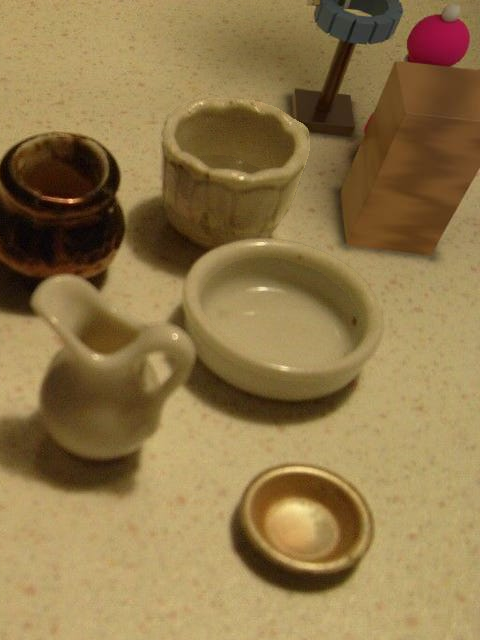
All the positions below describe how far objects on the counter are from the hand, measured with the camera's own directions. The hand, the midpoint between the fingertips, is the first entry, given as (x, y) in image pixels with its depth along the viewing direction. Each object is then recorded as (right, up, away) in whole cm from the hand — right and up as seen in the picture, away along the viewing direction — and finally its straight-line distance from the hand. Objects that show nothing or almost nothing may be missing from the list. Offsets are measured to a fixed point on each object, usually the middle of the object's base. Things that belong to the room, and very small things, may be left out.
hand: (326, 4), depth 97 cm
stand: (+4, -10, +11) cm, 15 cm away
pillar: (+6, -25, -1) cm, 26 cm away
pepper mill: (+9, -17, +5) cm, 20 cm away
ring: (+4, -2, +1) cm, 4 cm away
